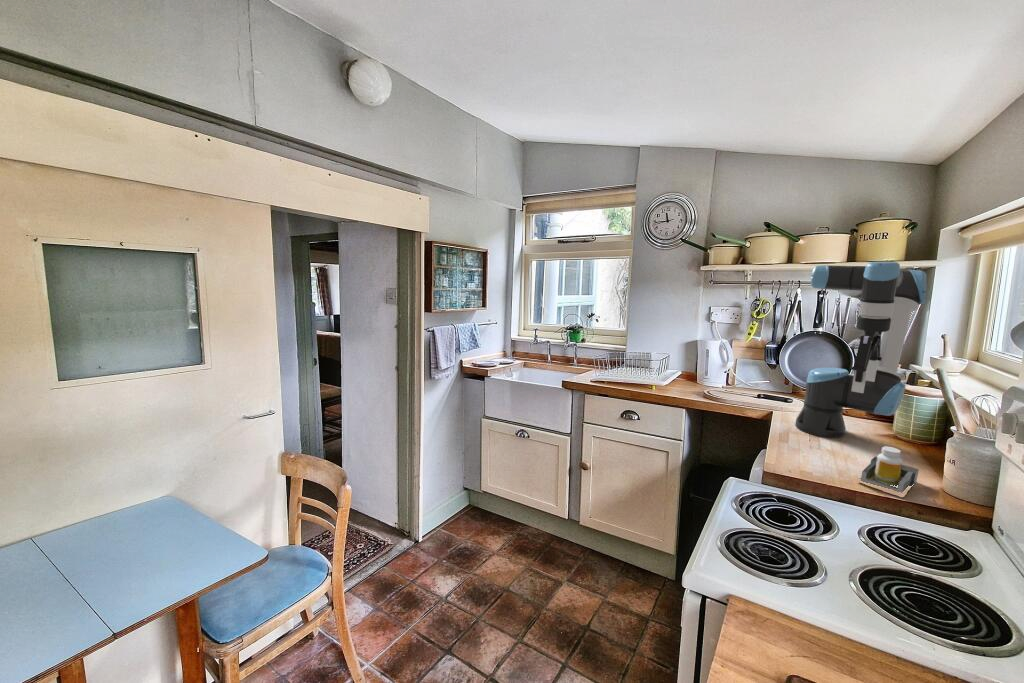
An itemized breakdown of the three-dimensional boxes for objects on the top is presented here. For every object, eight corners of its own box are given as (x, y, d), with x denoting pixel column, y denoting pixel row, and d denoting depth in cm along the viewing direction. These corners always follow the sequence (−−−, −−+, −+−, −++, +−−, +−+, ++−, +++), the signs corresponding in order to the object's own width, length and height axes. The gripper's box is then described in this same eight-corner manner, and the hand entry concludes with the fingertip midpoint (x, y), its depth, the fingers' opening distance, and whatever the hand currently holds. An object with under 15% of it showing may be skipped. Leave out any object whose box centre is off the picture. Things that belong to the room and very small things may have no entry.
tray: (872, 468, 133) (875, 453, 132) (916, 481, 125) (919, 466, 124) (857, 483, 125) (860, 467, 124) (903, 498, 117) (906, 482, 116)
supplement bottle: (903, 487, 120) (909, 454, 118) (880, 485, 121) (886, 452, 120) (890, 477, 126) (896, 446, 124) (869, 475, 127) (874, 444, 125)
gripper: (868, 309, 136) (858, 373, 141) (846, 321, 120) (836, 393, 125) (900, 311, 130) (888, 378, 135) (881, 324, 115) (869, 400, 120)
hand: (863, 386), depth 130 cm, fingers open, 13 cm apart
